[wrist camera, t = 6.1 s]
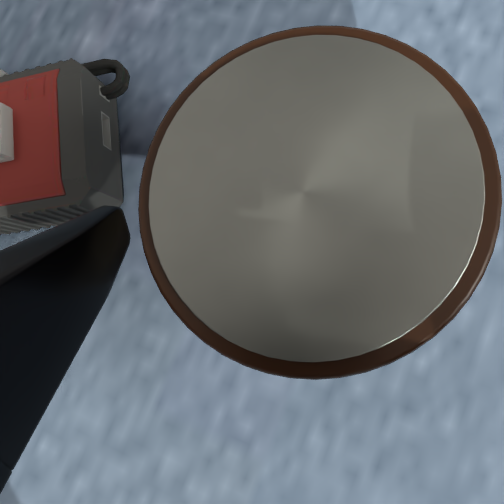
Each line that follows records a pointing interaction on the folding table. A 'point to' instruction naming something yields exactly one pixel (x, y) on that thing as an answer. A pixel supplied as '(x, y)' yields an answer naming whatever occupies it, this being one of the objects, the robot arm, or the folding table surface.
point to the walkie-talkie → (59, 143)
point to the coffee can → (320, 202)
